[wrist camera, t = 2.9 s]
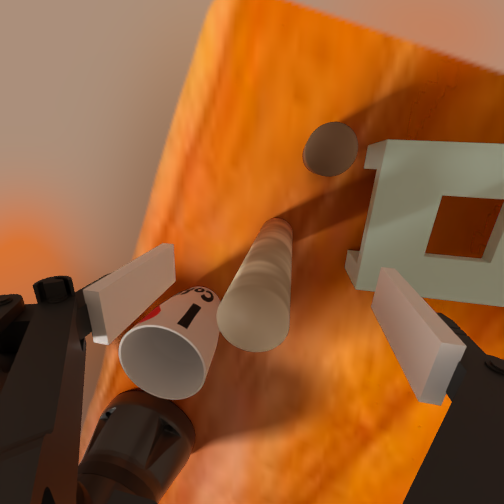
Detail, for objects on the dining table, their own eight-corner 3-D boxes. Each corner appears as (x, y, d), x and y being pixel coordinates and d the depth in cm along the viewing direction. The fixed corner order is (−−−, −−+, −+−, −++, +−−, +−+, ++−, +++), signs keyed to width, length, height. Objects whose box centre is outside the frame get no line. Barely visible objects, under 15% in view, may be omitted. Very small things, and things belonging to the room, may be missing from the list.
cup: (229, 274, 29) (197, 326, 19) (236, 333, 31) (211, 403, 22) (165, 275, 30) (107, 323, 21) (177, 331, 33) (130, 396, 23)
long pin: (259, 247, 27) (216, 346, 12) (261, 216, 26) (216, 284, 11) (290, 250, 27) (285, 357, 12) (294, 219, 25) (293, 293, 10)
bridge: (344, 267, 26) (355, 289, 21) (368, 145, 22) (387, 139, 17) (491, 283, 24) (538, 311, 20) (546, 152, 20) (621, 148, 16)
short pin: (300, 172, 24) (302, 174, 17) (304, 134, 23) (308, 121, 16) (336, 174, 23) (352, 177, 17) (342, 135, 22) (362, 122, 16)
